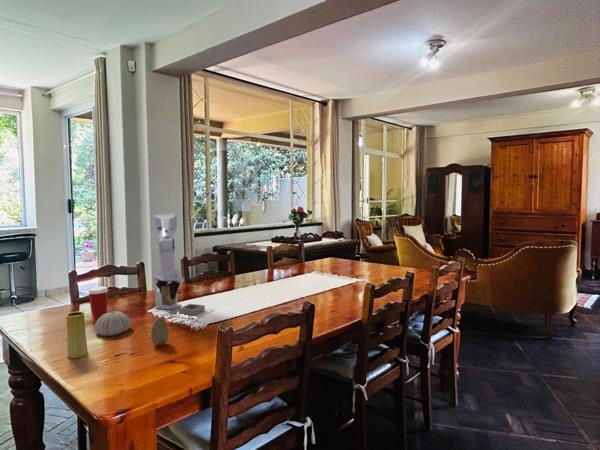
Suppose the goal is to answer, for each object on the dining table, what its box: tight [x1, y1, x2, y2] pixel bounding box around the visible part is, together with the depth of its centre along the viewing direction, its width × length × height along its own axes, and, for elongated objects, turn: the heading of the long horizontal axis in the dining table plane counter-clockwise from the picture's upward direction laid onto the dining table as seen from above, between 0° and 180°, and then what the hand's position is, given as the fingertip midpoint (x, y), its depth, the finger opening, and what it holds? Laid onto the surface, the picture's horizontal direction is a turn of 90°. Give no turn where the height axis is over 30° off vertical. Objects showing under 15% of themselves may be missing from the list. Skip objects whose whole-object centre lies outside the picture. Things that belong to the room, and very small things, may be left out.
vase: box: [65, 311, 89, 359], centre depth 137 cm, size 6×6×14 cm
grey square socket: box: [169, 303, 215, 319], centre depth 183 cm, size 14×14×4 cm
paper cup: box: [87, 286, 109, 324], centre depth 174 cm, size 8×8×14 cm
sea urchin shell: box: [93, 310, 132, 337], centre depth 160 cm, size 13×14×8 cm
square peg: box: [161, 284, 176, 306], centre depth 173 cm, size 4×4×8 cm
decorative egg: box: [150, 317, 169, 347], centre depth 146 cm, size 6×6×10 cm
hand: (168, 298), depth 174 cm, fingers closed on square peg, 4 cm apart
